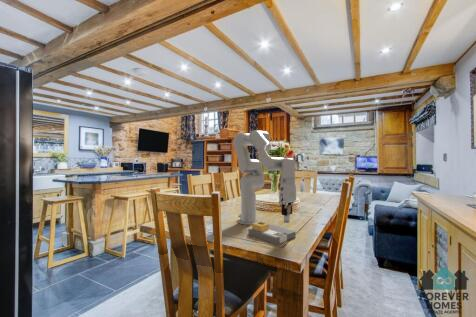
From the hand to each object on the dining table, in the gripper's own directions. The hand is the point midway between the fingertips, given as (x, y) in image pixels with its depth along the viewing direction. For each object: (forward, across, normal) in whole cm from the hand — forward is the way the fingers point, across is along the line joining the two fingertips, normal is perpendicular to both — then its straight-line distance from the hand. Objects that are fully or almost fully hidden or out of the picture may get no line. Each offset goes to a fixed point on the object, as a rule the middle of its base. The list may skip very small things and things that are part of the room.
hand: (286, 214), depth 124 cm
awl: (+4, 0, 0) cm, 4 cm away
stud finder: (+9, -8, +11) cm, 17 cm away
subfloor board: (+12, -5, +6) cm, 15 cm away
